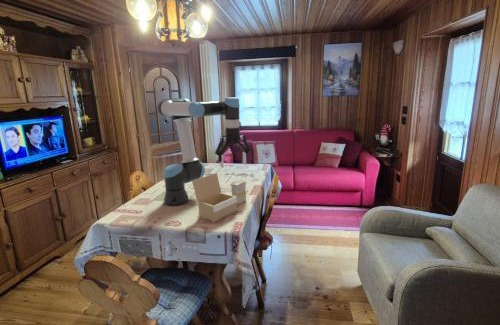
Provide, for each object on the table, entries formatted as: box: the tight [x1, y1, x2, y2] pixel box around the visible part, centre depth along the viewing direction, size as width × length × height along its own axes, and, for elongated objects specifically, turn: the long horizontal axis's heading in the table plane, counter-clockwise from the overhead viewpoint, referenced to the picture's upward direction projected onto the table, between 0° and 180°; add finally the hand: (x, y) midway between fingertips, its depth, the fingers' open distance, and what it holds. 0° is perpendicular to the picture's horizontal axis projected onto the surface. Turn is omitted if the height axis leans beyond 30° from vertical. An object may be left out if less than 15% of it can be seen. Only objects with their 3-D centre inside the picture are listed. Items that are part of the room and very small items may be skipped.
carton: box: [197, 192, 238, 223], centre depth 158 cm, size 12×18×9 cm
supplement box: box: [230, 180, 247, 206], centre depth 174 cm, size 8×5×13 cm, turn 141°
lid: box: [191, 172, 222, 203], centre depth 161 cm, size 12×18×1 cm
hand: (233, 165), depth 156 cm, fingers open, 13 cm apart
